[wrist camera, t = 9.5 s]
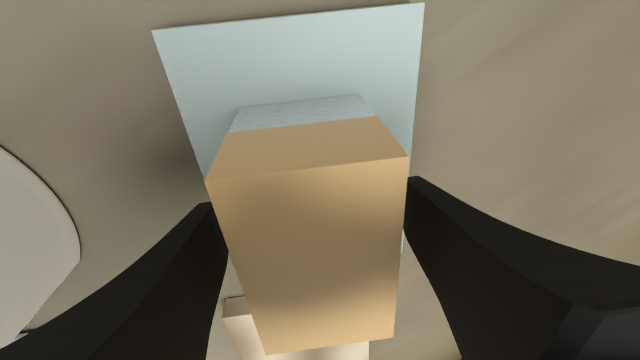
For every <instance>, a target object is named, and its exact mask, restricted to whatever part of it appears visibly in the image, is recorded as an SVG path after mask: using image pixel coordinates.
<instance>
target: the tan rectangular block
mask: <svg viewBox="0 0 640 360" xmlns="http://www.w3.org/2000/svg"><path fill="white" fill-rule="evenodd" d="M408 167H409V155H408V154H407V153H406V151H405V150H404V149H403V148H402V146H401V145H400V144H399V142H398V141H397V140H396V139H395V137H394V136H393V135H392V134H391V132H390V131H389V130H388V129H387V127H386V126H385V125H384V124H383V122H382V121H381V120H380V118H379V117H378V116H371V117H362V118H353V119H344V120H336V121H327V122H318V123H310V124H301V125H292V126H284V127H275V128H266V129H258V130H249V131H240V132H231V133H227V134H226V136H225V138H224V140H223V142H222V144H221V146H220V149H219V151H218V153H217V155H216V157H215V159H214V161H213V163H212V165H211V167H210V169H209V172H208V174H207V176H206V178H205V180H204V183H205V185H206V188H207V191H208V194H209V197H210V200H211V202H212V205H213V208H214V211H215V214H216V216H217V219H218V222H219V225H220V228H221V231H222V233H223V236H224V239H225V242H226V245H227V247H228V250H229V253H230V256H231V259H232V262H233V264H234V267H235V270H236V273H237V276H238V278H239V281H240V284H241V287H242V290H243V293H244V295H245V298H246V301H247V304H248V307H249V309H250V312H251V315H252V318H253V321H254V324H255V326H256V329H257V332H258V335H259V338H260V340H261V343H262V346H263V349H264V352H265V355H273V354H280V353H287V352H294V351H301V350H308V349H315V348H323V347H330V346H337V345H344V344H351V343H358V342H365V341H372V340H379V339H386V338H393V333H394V322H395V311H396V300H397V289H398V278H399V267H400V256H401V245H402V233H403V222H404V211H405V200H406V189H407V178H408Z"/></svg>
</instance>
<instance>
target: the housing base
mask: <svg viewBox="0 0 640 360" xmlns="http://www.w3.org/2000/svg"><path fill="white" fill-rule="evenodd" d="M371 116H376V115H375V113H374V112H373V111H372V109H371V108H370V107H369V106H368V104H367V103H366V102H365V101H364V99H363V98H362V97H361V95H360V94H359V93H355V94H346V95H338V96H329V97H320V98H311V99H302V100H293V101H284V102H275V103H266V104H257V105H248V106H240V108H239V110H238V112H237V114H236V117H235V119H234V121H233V123H232V125H231V127H230V129H229V131H228V133H231V132H240V131H249V130H258V129H266V128H275V127H284V126H292V125H301V124H310V123H318V122H327V121H336V120H344V119H353V118H362V117H371Z"/></svg>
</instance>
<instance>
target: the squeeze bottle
mask: <svg viewBox="0 0 640 360" xmlns="http://www.w3.org/2000/svg"><path fill="white" fill-rule="evenodd" d="M79 261H80V243H79V238H78V234H77V231H76V229H75V226H74V224H73V222H72V220H71V218H70V216H69V214H68V212H67V211H66V209H65V208H64V206H63V205H62V203H61V202H60V201H59V199H58V198H57V197H56V196H55V194H54V193H53V192H52V191H51V190H50V189H49V188H48V187H47V185H46V184H45V183H44V182H43V181H42V180H41V179H40V178H39V177H38V176H36V175H35V174H34V173H33V172H32V171H31V170H30V169H29V168H27V167H26V166H25V165H24V164H23V163H21V162H20V161H19V160H18V159H16V158H15V157H14V156H12V155H11V154H10V153H8V152H7V151H5V150H4V149H2V148H1V147H0V349H1V348H3V347H5V346H7V345H9V344H10V343H11V342H12V341H13V340H14V339H15V337H16V336H17V335H18V334H19V333H20V331H21V330H22V329H23V328H24V327H25V326H27V324H28V323H29V322H30V321H31V319H32V318H33V317H34V316H35V314H36V313H37V312H38V311H39V309H40V308H41V307H42V306H43V304H44V303H45V302H46V301H47V299H48V298H49V297H50V296H51V294H52V293H53V292H54V291H55V290H56V288H57V287H58V286H60V285H61V284H62V282H63V281H64V280H65V279H66V277H67V276H68V275H69V274H70V272H71V271H72V270H73V269H74V267H75V266H76V265H77V264H78V263H79Z"/></svg>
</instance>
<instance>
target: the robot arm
mask: <svg viewBox="0 0 640 360" xmlns="http://www.w3.org/2000/svg"><path fill="white" fill-rule="evenodd" d="M403 230H404V233H405V235H406V238H407V241H408V243H409V244H410V246H411V248H412V250H413V252H414V254H415V256H416V258H417V260H418V261H419V263H420V265H421V267H422V269H423V271H424V272H425V274H426V276H427V278H428V280H429V282H430V284H431V285H432V287H433V289H434V291H435V293H436V295H437V297H438V299H439V302H440V304H441V306H442V309H443V311H444V314H445V316H446V318H447V321H448V323H449V326H450V328H451V331H452V333H453V336H454V338H455V341H456V343H457V346H458V349H459V351H460V354H461V356H462V359H463V360H640V266H637V265H633V264H629V263H625V262H621V261H617V260H613V259H609V258H605V257H602V256H598V255H595V254H591V253H588V252H584V251H581V250H578V249H575V248H571V247H568V246H565V245H562V244H559V243H556V242H553V241H550V240H548V239H545V238H542V237H539V236H536V235H534V234H531V233H529V232H526V231H523V230H521V229H519V228H516V227H514V226H512V225H509V224H507V223H505V222H502V221H500V220H498V219H496V218H494V217H491V216H489V215H487V214H485V213H483V212H481V211H480V210H478V209H476V208H474V207H472V206H470V205H468V204H466V203H464V202H463V201H461V200H459V199H457V198H456V197H454V196H452V195H450V194H449V193H447V192H445V191H444V190H442V189H440V188H439V187H437V186H435V185H434V184H432V183H430V182H428V181H427V180H425V179H423V178H421V177H419V176H414V177H408V178H407V189H406V200H405V211H404V222H403ZM228 253H229V250H228V247H227V245H226V242H225V239H224V236H223V233H222V231H221V228H220V225H219V222H218V219H217V216H216V214H215V211H214V208H213V205H212V202H205V203H199V204H198V205H197V206H196V207H195V208H194V209H193V210H192V211H190V212H189V213H188V214H187V215H186V216H185V217H184V218H183V219H182V220H181V221H180V222H179V223H178V224H177V225H176V226H175V227H174V228H173V229H172V230H171V231H170V232H169V233H167V234H166V235H165V236H164V237H163V238H162V239H161V240H160V241H159V242H158V243H157V244H155V245H154V246H153V247H152V248H151V249H150V250H149V251H147V252H146V253H145V254H144V255H143V256H142V257H141V258H139V259H138V260H137V261H136V262H135V263H133V264H132V265H131V266H130V267H128V268H127V269H126V270H125V271H123V272H122V273H121V274H119V275H118V276H117V277H115V278H114V279H113V280H111V281H110V282H109V283H107V284H106V285H104V286H103V287H102V288H100V289H99V290H97V291H96V292H94V293H93V294H91V295H90V296H88V297H87V298H85V299H84V300H82V301H81V302H79V303H78V304H76V305H75V306H73V307H72V308H70V309H68V310H67V311H65V312H64V313H62V314H60V315H59V316H57V317H55V318H54V319H52V320H51V321H49V322H47V323H46V324H44V325H42V326H40V327H39V328H37V329H35V330H33V331H32V332H30V333H24V334H18V335H17V336H16V337H15V339H14V340H13V341H12V342H11V343H10V344H9V345H7V346H5V347H3V348H1V349H0V360H205V359H206V353H207V347H208V340H209V334H210V329H211V325H212V320H213V316H214V312H215V309H216V305H217V301H218V297H219V294H220V290H221V286H222V282H223V278H224V274H225V271H226V266H227V260H228Z"/></svg>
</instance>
